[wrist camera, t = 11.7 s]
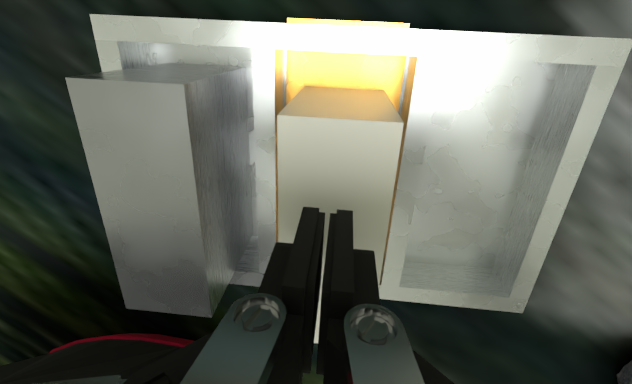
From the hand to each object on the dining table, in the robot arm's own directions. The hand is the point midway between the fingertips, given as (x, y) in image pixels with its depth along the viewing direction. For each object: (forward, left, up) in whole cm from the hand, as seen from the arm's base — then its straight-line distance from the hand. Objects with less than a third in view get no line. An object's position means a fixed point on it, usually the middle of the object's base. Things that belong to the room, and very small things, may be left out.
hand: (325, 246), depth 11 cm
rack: (0, 0, -9) cm, 9 cm away
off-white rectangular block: (-1, 0, -8) cm, 8 cm away
